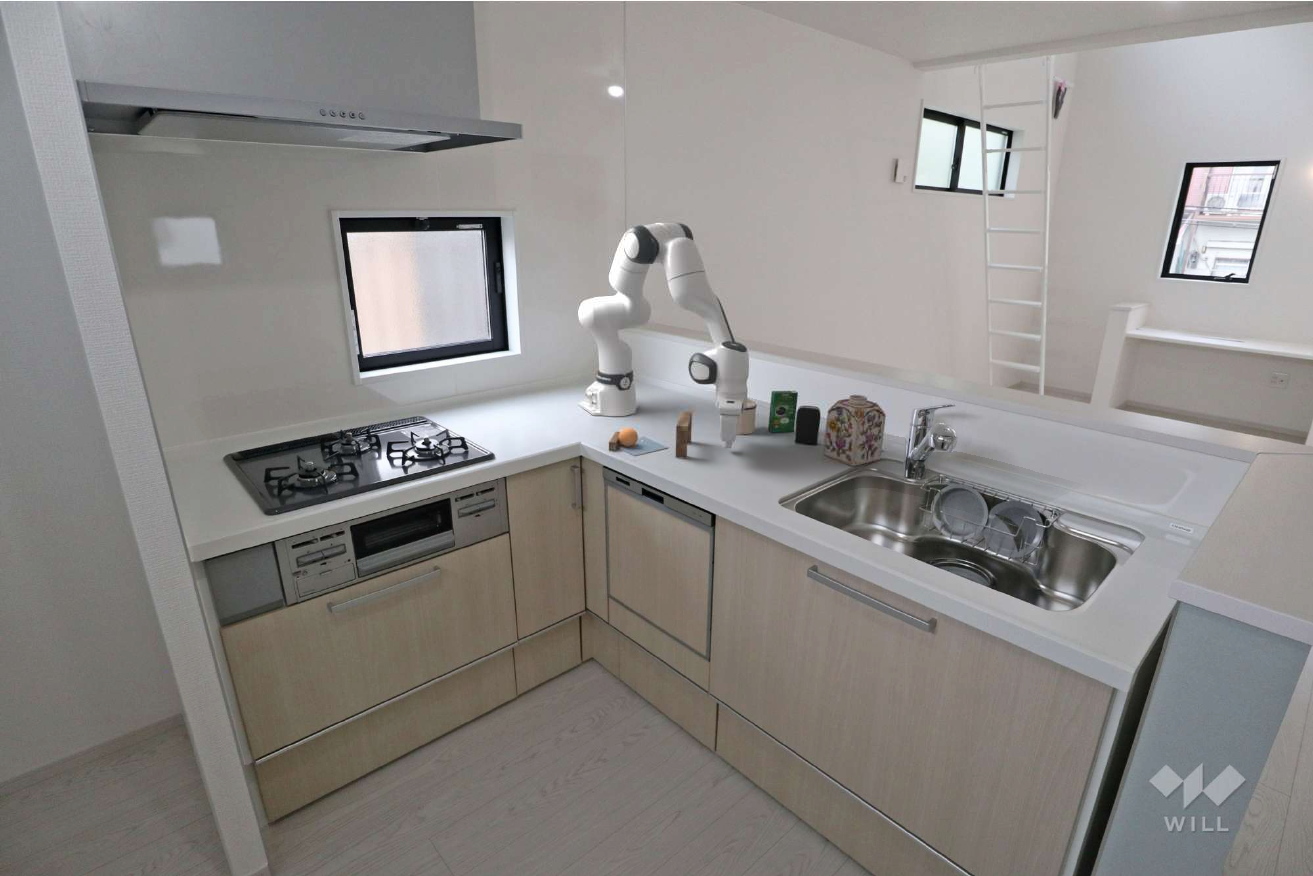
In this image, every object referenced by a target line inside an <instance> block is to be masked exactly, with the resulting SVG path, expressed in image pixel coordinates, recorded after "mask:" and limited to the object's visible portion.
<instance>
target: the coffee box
mask: <svg viewBox="0 0 1313 876" xmlns="http://www.w3.org/2000/svg"><path fill="white" fill-rule="evenodd" d="M798 393H799V392H797V391H796V390H772V391H771V396H770V404H769V405H770V406H769V416H768V428H767V430H768V431H767V432H769V431H770V432H771V433H772V434H774V433H773V432H777V433H794V432H795V427H796V415H797V407H798V406H797V405H798V397H799V394H798ZM770 432H769V433H770Z"/></svg>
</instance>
